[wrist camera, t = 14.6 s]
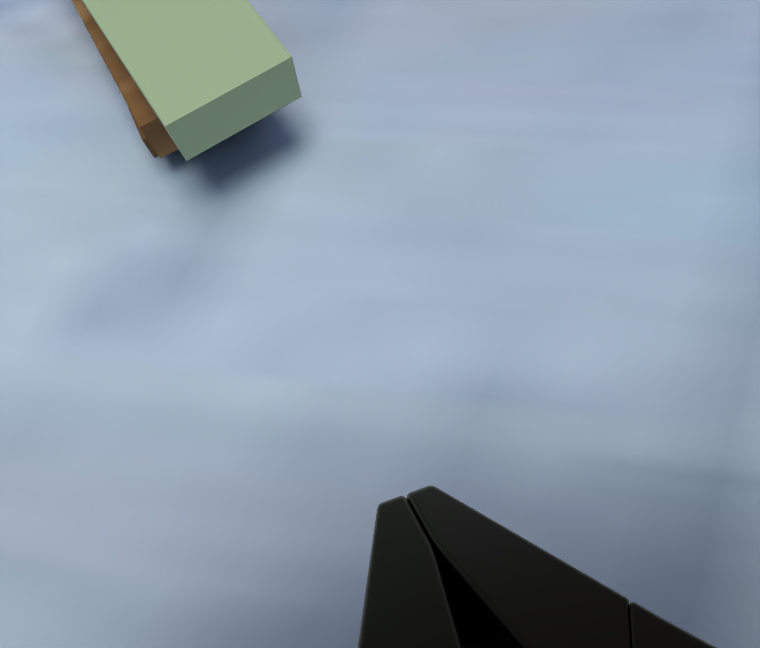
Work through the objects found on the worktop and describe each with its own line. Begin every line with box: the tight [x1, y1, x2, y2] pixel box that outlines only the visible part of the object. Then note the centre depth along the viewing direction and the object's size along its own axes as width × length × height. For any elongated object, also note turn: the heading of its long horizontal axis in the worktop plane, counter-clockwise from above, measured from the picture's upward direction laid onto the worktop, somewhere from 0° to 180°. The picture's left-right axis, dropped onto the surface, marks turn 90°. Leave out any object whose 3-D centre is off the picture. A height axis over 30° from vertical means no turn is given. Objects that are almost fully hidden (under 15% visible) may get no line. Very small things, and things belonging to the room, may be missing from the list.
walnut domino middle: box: [72, 0, 178, 158], centre depth 25 cm, size 2×5×13 cm
